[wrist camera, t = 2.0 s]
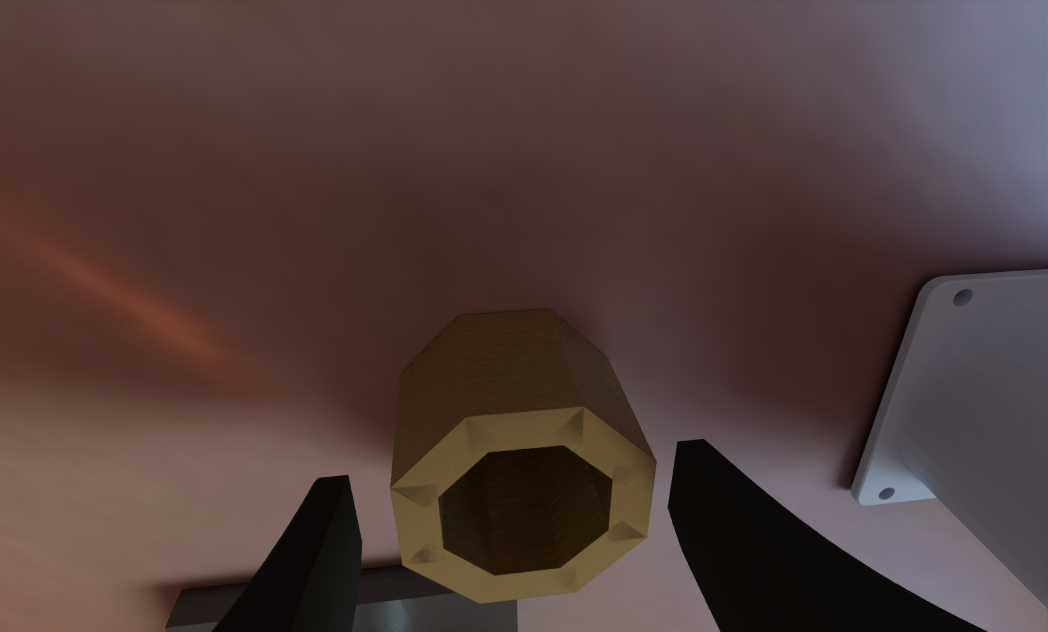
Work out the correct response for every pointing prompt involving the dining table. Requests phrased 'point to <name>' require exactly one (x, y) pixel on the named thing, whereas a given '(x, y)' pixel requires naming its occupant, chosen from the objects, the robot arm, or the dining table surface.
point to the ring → (516, 460)
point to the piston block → (369, 606)
